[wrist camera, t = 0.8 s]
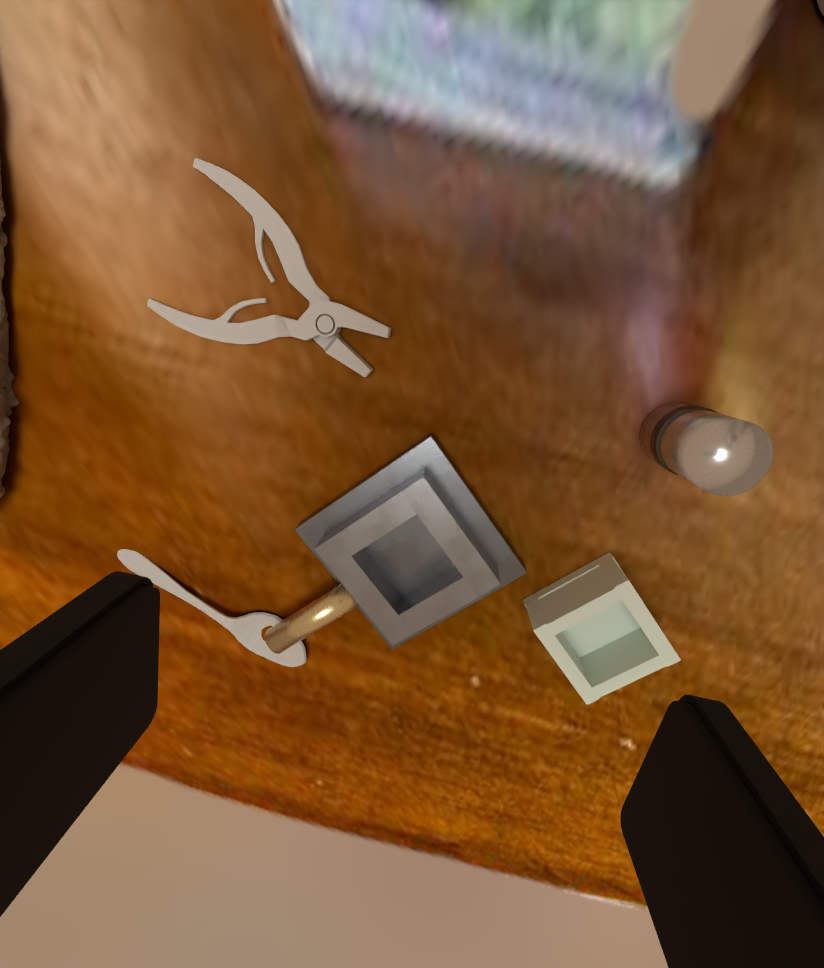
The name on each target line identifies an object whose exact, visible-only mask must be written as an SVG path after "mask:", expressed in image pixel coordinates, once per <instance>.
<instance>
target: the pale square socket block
mask: <svg viewBox="0 0 824 968" xmlns="http://www.w3.org/2000/svg"><path fill="white" fill-rule="evenodd" d="M523 601H524V605H525V607H526V608H527V611H528V614H529V618H530V621H531V625H532V628H533V631H534V632H535V634H536V635H537V637H538V638H539V639H540V641H541V642H542V643H543V645H544V646H545V648H546V649H547V650H548V652H549V653H550V655H551V656H552V657H553V659H554V660H555V661H556V663H557V664H558V666H559V667H560V668H561V670H562V671H563V672H564V674H565V675H566V677H567V678H568V679H569V681H570V682H571V683H572V685H573V686H574V688H575V689H576V690H577V692H578V693H579V695H580V696H581V697H582V699H583V700H584V701H585V703H586V704H587V705H588V704H590V703H592V702H594V701H596V700H598V699H600V697H602V696H604V695H606V694H608V693H610V692H612V691H615V690H617V689H619V688H621V687H623V686H625V685H627V684H629V683H631V682H634V681H636V680H638V679H640V678H642V677H644V676H646V675H648V674H650V673H652V672H655V671H657V670H659V669H661V668H663V667H665V666H667V667H668V666H670V665H672V664H674V663H677V662H679V661H681V660H680V658H679V657H678V655H677V654H676V652H675V650H674V649H673V647H672V646H671V644H670V643H669V641H668V640H667V638H666V637H665V635H664V634H663V632H662V630H661V629H660V627H659V626H658V624H657V623H656V621H655V620H654V618H653V617H652V615H651V614H650V612H649V610H648V609H647V607H646V606H645V604H644V603H643V601H642V600H641V598H640V597H639V595H638V594H637V592H636V590H635V589H634V587H633V586H632V584H631V583H630V581H629V580H628V578H627V577H626V575H625V574H624V572H623V571H622V569H621V568H620V566H619V565H618V563H617V561H616V560H615V558H614V557H613V556H612V554H611V553H610V552H608V553H607V554H605V555H603V556H601V557H599V558H598V559H596V560H594V561H592V562H590V563H589V564H587V565H585V566H583V567H581V568H579V569H578V570H576V571H574V572H572V573H570V574H569V575H567V576H565V577H563V578H561V579H560V580H558V581H556V582H554V583H552V584H550V585H549V586H547V587H545V588H543V589H541V590H540V591H538V592H536V593H534V594H532V595H530V596H529V597H527V598H525V599H523Z"/></svg>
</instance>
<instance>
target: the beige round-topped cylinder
mask: <svg viewBox="0 0 824 968" xmlns="http://www.w3.org/2000/svg"><path fill="white" fill-rule="evenodd" d="M640 444H641V447H642V449H643V451H644V452H645V453H646V454H647V455H648V456H649V457H650V458H652V459H653V460H655V461H657V463H658V464H659V465H661V466H662V467H664V468H665V469H667V470H669V471H670V472H672V473H674V474H677V475H680V476H682V477H683V478H685V479H687V480H688V481H690V482H692V483H693V484H695V485H697V486H698V487H700V488H702V489H703V490H705V491H707V492H709V493H711V494H715V495H720V496H731V495H736V494H740V493H743V492H745V491H747V490H749V489H751V488H752V487H754V486H755V485H756V484H758V483H759V482H760V481H761V480H762V479H763V477H764V476H765V475H766V473H767V472H768V470H769V468H770V466H771V463H772V459H773V445H772V441H771V439H770V437H769V436H768V434H767V433H766V432H765V431H764V430H763V429H762V428H761V427H759V426H758V425H756V424H753V423H750V422H747V421H743V420H740V419H736V418H733V417H729V416H726V415H722V414H719V413H717V412H716V411H713V410H711V409H707V408H704V407H700V406H694V405H687V404H683V403H668V404H665V405H662V406H660V407H658V408H656V409H655V410H653V411H652V412H651V413H650V414H649V415H648V416H647V417H646V419H645V420H644V422H643V424H642V426H641V430H640Z"/></svg>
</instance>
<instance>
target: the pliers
mask: <svg viewBox="0 0 824 968" xmlns="http://www.w3.org/2000/svg"><path fill="white" fill-rule="evenodd" d="M193 166H194V167H195V168H196V169H198V170H199V171H201V172H202V173H204V174H205V175H206V176H208V177H209V178H210V179H212V180H213V181H214V182H215V183H217V184H218V185H219V186H220V187H222V188H223V189H224V190H225V191H227V192H228V193H229V194H230V195H232V196H233V197H234V198H235V199H236V200H237V201H238V202H239V203H240V204H241V205H242V206H243V207H244V208H245V209H246V210H247V211H248V212H249V213H250V214H251V215H252V216H253V220H254V225H255V244H256V249H257V253H258V258H259V260H260V262H261V265H262V267H263V269H264V271H265V273H266V274H267V276H268V278H269V279H270V281H271V283H275V282H276V279H275V277H274V276H273V274H272V272H271V270H270V268H269V266H268V264H267V261H266V259H265V254H264V248H263V241H264V235H265V232H266V233H267V235H268V236H269V238H270V239H271V240H272V242H273V244H274V247H275V249H276V251H277V253H278V256H279V258H280V261H281V263H282V266H283V268H284V271H285V273H286V276H287V279H288V281H289V282H290V283H291V284H292V285H293V286H294V287H295V288H296V289H297V290H298V291H299V292H300V293H301V294H302V295H303V296H304V297H305V298H306V299H308V300H309V301H310V305H309V308H308V309H307V310H306V311H305V312H304V314H303V315H302V316H301V317H300V318H299V319H298V320H295V319H291V318H287V317H283V316H279V315H271V316H267V317H264V318H260V319H256V320H252V321H248V322H243V323H229V322H230V321H231V320H232V318H233V317H234V315H235V314H236V313H237V312H238V311H240V310H241V309H243V308H245V307H246V306H250V305H254V304H261V303H268V300H267V299H266V298H262V299H251V300H247V301H242V302H240V303H238V304H236V305H234V306H233V307H231V308H230V309H229V310H227V311H226V312H225V313H224V314H223V315H222V316H221V317H219V318H217V319H215V320H210V319H206V318H202V317H198V316H194V315H191V314H188V313H186V312H183V311H180V310H178V309H175V308H172V307H170V306H167V305H165V304H163V303H160V302H158V301H156V300H154V299H149V301H148V304H147V306H148V307H150V308H151V309H152V310H154V311H155V312H156V313H158V314H159V315H160V316H162V317H163V318H165V319H166V320H168V321H169V322H171V323H172V324H174V325H176V326H178V327H180V328H182V329H184V330H186V331H188V332H191V333H193V334H196V335H198V336H201V337H204V338H208V339H212V340H216V341H221V342H226V343H235V344H256V343H263V342H266V341H269V340H272V339H275V338H279V337H295V338H299V339H303V340H311V339H314V340H315V341H316V342H317V343H318V344H319V345H320V346H321V347H322V348H323V349H324V350H325V353H327V354H329V355H330V356H332V357H333V358H335V359H336V360H338V361H340V362H341V363H343V364H344V365H346V366H347V367H349V368H351V369H352V370H354V371H355V372H357V373H358V374H360V375H362V376H363V377H367V376H368V375H369V374H370V373H371V372H372V371H373V370H374V369H373V368H372V367H371V366H370V365H369V364H368V363H366V362H365V361H364V360H363V359H362V358H361V357H360V356H359V355H358V354H357V353H356V352H355V351H354V350H353V349H352V348H351V347H350V346H349V345H348V344H347V343H346V342H345V341H344V340H343V339H342V338H341V336H340V335H339V332H340V331H341V327H346V328H350V329H354V330H358V331H362V332H366V333H369V334H373V335H377V336H381V337H385V338H390V333H391V329H392V328H390V327H388V326H385V325H383V324H381V323H379V322H377V321H375V320H373V319H371V318H369V317H367V316H365V315H363V314H361V313H359V312H357V311H355V310H353V309H351V308H349V307H347V306H345V305H342V304H338V303H334V302H331V299H330V297H329V296H328V295H326V294H325V293H324V292H323V291H322V290H321V289H320V288H319V287H318V286H317V284H316V282H315V280H314V279H313V277H312V275H311V273H310V272H309V270H308V267H307V264H306V261H305V258H304V256H303V253H302V250H301V247H300V245H299V243H298V241H297V240H296V238H295V236H294V234H293V233H292V231H291V229H290V228H289V227H288V225H287V224H286V223H285V221H284V220H283V219H282V217H281V216H280V215H279V214H278V213H277V212H276V211H275V209H274V208H273V207H272V206H271V205H270V204H269V203H268V202H267V201H266V200H265V199H264V198H263V197H262V196H261V195H260V194H259V193H258V192H256V191H255V190H254V189H252V188H251V187H250V186H248V185H247V184H246V183H245V182H243V181H242V180H241V179H239V178H237V177H236V176H234V175H233V174H231V173H229V172H228V171H226V170H224V169H222V168H220V167H217V166H215V165H213V164H211V163H208V162H205V161H203V160H200V159H197V158H195V160H194V164H193Z"/></svg>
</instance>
